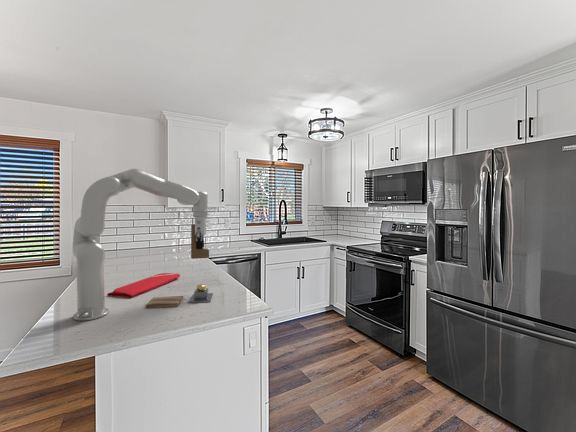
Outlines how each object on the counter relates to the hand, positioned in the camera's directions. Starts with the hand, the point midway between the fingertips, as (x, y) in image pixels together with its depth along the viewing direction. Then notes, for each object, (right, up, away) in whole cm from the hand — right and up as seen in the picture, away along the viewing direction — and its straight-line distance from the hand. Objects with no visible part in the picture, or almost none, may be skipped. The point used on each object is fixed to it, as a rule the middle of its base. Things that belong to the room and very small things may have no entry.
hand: (200, 247), depth 157 cm
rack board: (-11, -24, -18) cm, 32 cm away
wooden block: (0, -6, 0) cm, 6 cm away
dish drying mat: (-33, -24, +10) cm, 43 cm away
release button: (+4, -20, -12) cm, 23 cm away
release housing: (+4, -24, -11) cm, 27 cm away
